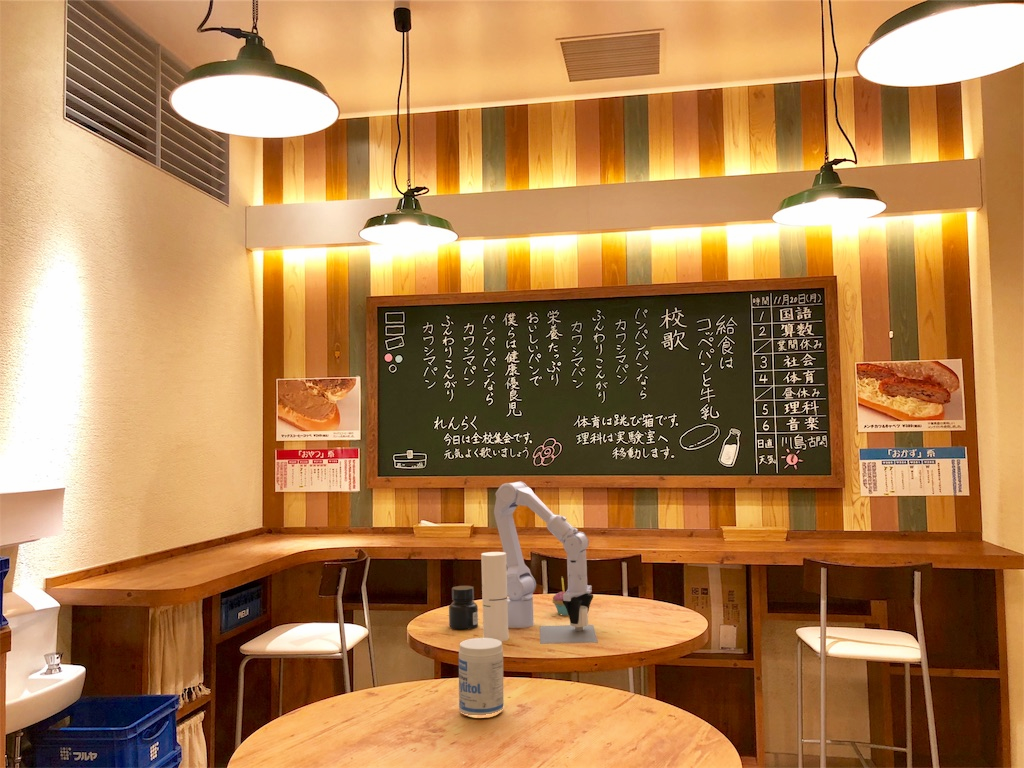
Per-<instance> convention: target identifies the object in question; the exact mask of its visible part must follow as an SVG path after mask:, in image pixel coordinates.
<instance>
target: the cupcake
mask: <svg viewBox="0 0 1024 768" xmlns="http://www.w3.org/2000/svg"><path fill="white" fill-rule="evenodd" d="M561 588H562V589H561V590H562V591H559V592H557V593H555V595H554V596H553V597H552V603H553V604H554V606H555V608H556V610H557V614H558V615H559V614H562V615H561V616H569V615H568V612H567V609H566V607H565V605H564V604H563V594H564V593H566V591H567V590H566V591H565V582H564V577H561Z"/></svg>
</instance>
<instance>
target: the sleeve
mask: <svg viewBox="0 0 1024 768" xmlns="http://www.w3.org/2000/svg"><path fill="white" fill-rule="evenodd" d="M569 623H570V624H569V625H570V626H573V627H585V626H588V625H589V611H588V607H586V606H580V610H579V621H578V624H572V623H571V622H570V621H569Z"/></svg>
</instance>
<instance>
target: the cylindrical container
mask: <svg viewBox="0 0 1024 768" xmlns="http://www.w3.org/2000/svg"><path fill="white" fill-rule="evenodd" d="M480 555H481V556H480V557H481V558H480V559H481V561H480V563H481V591H482V592H481V593H482V594H481V597H482V599H481V600H482V602H481V603H482V628H483V629H482V630H483V631H482V632H483V637H482V638H492V639H497V640H500V641H501V642H502V643H503V642H506V641H509V636H510V634H509V628H508V625H509V624H508V601H507V599H508V596H507V569H508V568H507V564H506V553H505V552H503V551H487V552H482V553H480Z"/></svg>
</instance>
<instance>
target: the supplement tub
mask: <svg viewBox="0 0 1024 768" xmlns="http://www.w3.org/2000/svg"><path fill="white" fill-rule="evenodd" d="M458 701H459V702H458V703H459V704H458V707H459V713H460V712H462V713H464V714H468V715H486V714H492V713H495V712H498V711H500V710H502V709H503V706H504V701H505V700H504V649H503V642H501V641H500V640H497V639H492V638H483V637H474V638H468V639H464V640H463V641H461V642H460V643H459V649H458ZM503 710H504V709H503Z"/></svg>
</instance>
